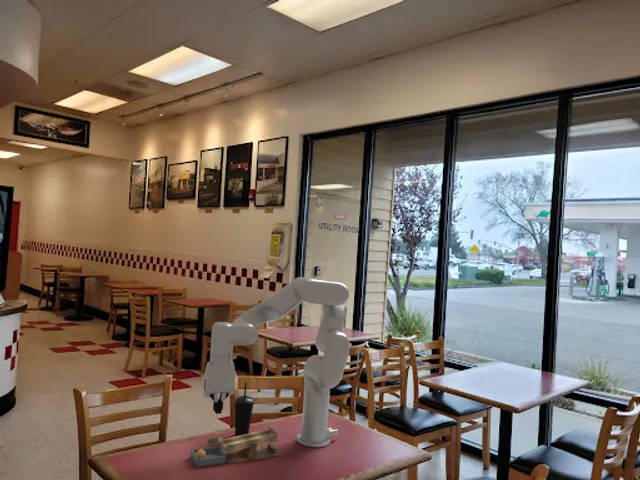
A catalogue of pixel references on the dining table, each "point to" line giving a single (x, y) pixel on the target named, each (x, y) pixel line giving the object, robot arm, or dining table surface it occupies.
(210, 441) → the lever
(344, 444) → the dining table surface
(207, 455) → the tray
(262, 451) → the catapult base
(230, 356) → the robot arm
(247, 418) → the drinking cup
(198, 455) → the ball
